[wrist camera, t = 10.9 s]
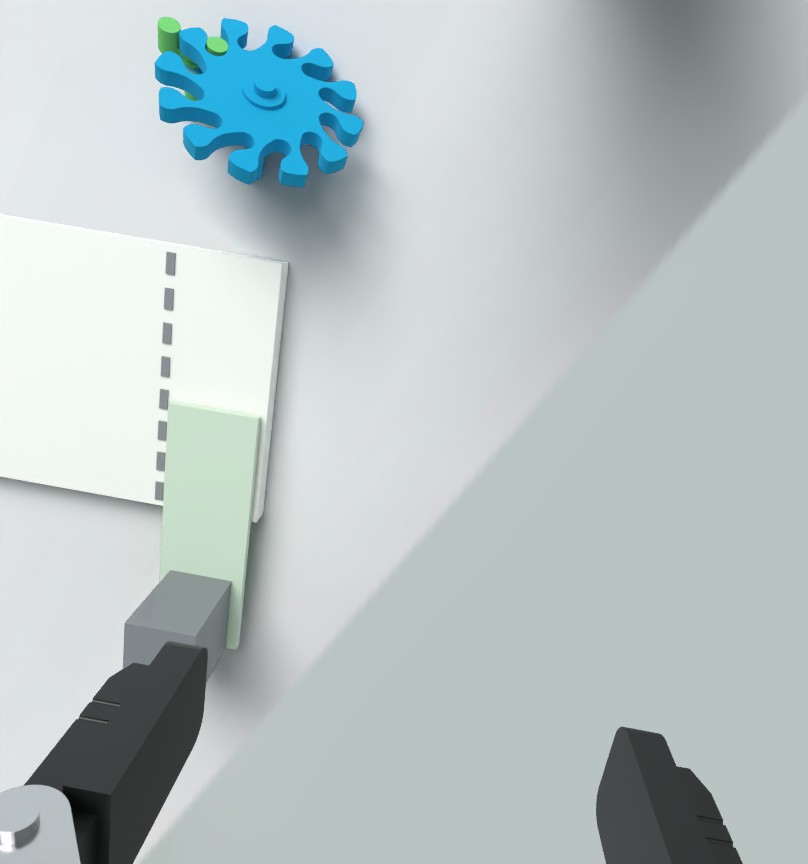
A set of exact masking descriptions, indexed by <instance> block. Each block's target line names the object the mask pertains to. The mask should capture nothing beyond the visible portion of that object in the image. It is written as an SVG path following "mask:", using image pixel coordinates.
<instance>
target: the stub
mask: <svg viewBox="0 0 808 864" xmlns="http://www.w3.org/2000/svg"><path fill="white" fill-rule="evenodd" d="M260 422H261V416H258V415H252V414H246V413H240V412H235V411H229V410H223V409H218V408H212V407H206V406H200V405H195V404H189V403H183V402H178V401H171V402H169V403H168V420H167V439H166V458H165V477H164V497H163V516H162V535H161V554H160V574H159V584H158V585H157V586H156V587H155V589H154V590H153V591H152V592H151V593H150V594H149V595H148V597H147V598H146V599H145V600H144V601H143V602H142V604H141V605H140V606H139V607H138V608H137V609H136V611H135V612H134V613H133V614H132V615H131V616H130V617H129V619H128V620H127V621H126V622H125V628H124V657H123V669H124V668H126V667H127V666H129V665H130V664H132V663H133V662H134V663H139V664H144V665H150V664H151V662H152V661H153V659H154V658H155V657H156V655H157V654H158V653H159V651H160V650H161V648H162V647H163V646H164V644H165V643H166V642H168V641H174V642H179V643H185V644H190V645H195V646H201V647H206V648H207V650H208V663H207V675H206V682H207V680H208V679H209V677H210V675H211V673H212V671H213V670H214V668H215V666H216V664H217V663H218V661H219V659H220V657H221V656H222V654H223V652H224V650H225V648H229V649H235V650H236V649H237V647H238V646H239V641H240V631H241V620H242V610H243V599H244V589H245V579H246V568H247V558H248V547H249V537H250V527H251V516H252V506H253V495H254V485H255V474H256V464H257V454H258V443H259V433H260Z"/></svg>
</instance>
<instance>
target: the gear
mask: <svg viewBox="0 0 808 864" xmlns="http://www.w3.org/2000/svg"><path fill="white" fill-rule="evenodd" d="M180 27H181V26H180V24H179V22H178V21H176V20H175V19H173V18H170V17H163V18H160V19H159V20H158V47H159V50H160V52H161V53H162V55H161V56H160V57H159V58H158V59H157V61H156V62H155V78H156V79H157V80H158V81H159V82H160V83H162V84H164V85H167V86H173V87H176V88H180V89H182V90H184V91H185V96H184V95H182V94H181V93H180V92H179V91H177V90H175V89H173V88H169V87H163V88H161V89H160V91H159V114H160V120H162V121H164V122H167V123H177V122H181V121H196V122H201V123H205V124H208V125H211V126H214V127H216V129H211V128H207V127H204V126H201V125H197V124H190V125H187V126H185V127H184V128H183V143H184V146H185V148H186V150H187V151H188V152H189V154H190V155H191V156H192V157H193V158H194V159H195V160H203V159H206V158H208V157H209V156H210V155H211V153H213V152H214V151H215V150H217V149H219V148H222V147H226V146H234V145H243V146H246V149H242V150H236V151H233V152H232V153H231V154H230V156H229V164H228V173H229V174H230V175H231V176H233V177H234V178H236V179H237V180H239V181H241V182H244V183H246V184H248V185H249V184H252V183H253V182H254V181H255V180H258V179H260V178H261V176H262V172H263V165H264V159H265V157H266V156H267V155H269V154H270V153H272V152H280V153H283V154H284V155H286V157H285V158H284V159H282V161H281V164H280V170H279V175H278V179H279V182H280V183H281V184H283V185H286V186H291V187H304V186H305V183H306V179H307V174H308V166H307V164H306V162H305V161H304V159H303V157H302V156H301V152H300V146H302V145H305V144H308V145H312V146H314V147H315V148H316V149H317V150H318V151H319V159H318V166H319V168H320V170H321V171H322V172H324V173H325V174H330V173H334V172H337V171H339V170H341V169H343V168H344V166H345V162H346V159H347V152H346V150H345V149H344V148H343V147H342V146H340V145H339V144H337V143H336V142H334V141H333V140H332V139H331V138H330V137H329V136H328V135H327V134H326V133H325V132H324V130H323V128H322V126H321V125H325V126H328V127H330V128H332V129H333V130H334V132H335V134H336V136H337V138H338V140H339V141H340V142H341V143H342V144H343V145H345V146H348V147H352V146H353V145H354V144H355V143H356V142H357V140H358V138H359V136H360V133H361V130H362V127H363V124H364V122H363V121H362V120H361V119H360V118H359V117H357V116H354V115H349V114H345V113H342V112H346V113H350V112H352V110H353V107H354V103H355V100H356V88H355V85H354V83H352V82H349V81H339V82H325V81H320V80H328V79H329V78H330V76H331V72H332V68H333V62H332V60H331V58H330V57H329V56H328V54H327V53H326V52H325V51H324V50H323V49H320V48H316V49H313V50H311V51H310V53H309V54H307V55H306V56H304V57H301V58H296V59H282V58H286V57H288V56H290V55H291V53H292V48H293V42H294V36H293V35H292V34H291V33H289V32H288V31H286V30H284V29H283V28H280V27H278V26H276V25H274V26H272V27H270V28H269V31H268V39H267V41H266V43H265V44H264V45H263V46H261V47H260V48H258V49H256V50H254V51H247V50H244V49H243V48H245V47H246V44H247V36H248V26H247V24H246V23H244V22H242V21H238V20H234V19H226V18H224V19H223V20H222V22H221V38H219V37H210V38H208V39H207V34H206V33H205V31H204V30H203V29H201V28H189V29H185V30H182V31H180ZM311 77H312V78H311ZM324 101H327V102H329V103H331V104H332V105H333V106H334V107H336V108H337V109H338V110H340V111H342V112H340V111H338V110H336V109H334V108H332V107H331V106H329V105H328V104H327V103H326V102H324Z"/></svg>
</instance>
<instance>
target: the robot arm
mask: <svg viewBox="0 0 808 864" xmlns="http://www.w3.org/2000/svg"><path fill="white" fill-rule="evenodd" d="M207 663H208V650H207V648H206V647H201V646H195V645H190V644H185V643H179V642H174V641H168V642H166V643H165V644H164V646H163V647H162V648H161V650H160V651H159V653H158V654H157V655H156V657H155V658H154V659H153V661H152V662H151V664H150V665H144V664H139V663H134V662H133V663H132V664H130V665H129V666H127V667H126V668H124V669H122V670H121V671H119V672H118V673H116V674H115V675H113V676H111V677H110V678H109V679H108V680H107V681H106V683H105V684H104V685H103V686H102V688H101V689H100V690H99V691H98V693H97V694H96V695H95V696H94V698H93V701H92V703H91V702H90V703H89V704H88V705H87V707H86V708H85V709H84V710H83V712H82V713H81V714H80V717H79V719H78V720H77V719H76V720H75V722H74V723H73V724H72V725H71V727H70V728H69V729H68V731H67V732H66V733H65V734H64V736H63V737H62V738H61V739H60V741H59V742H58V743H57V744H56V746H55V747H54V748H53V749H52V751H51V752H50V753H49V755H48V756H47V757H46V758H45V760H44V761H43V762H42V763H41V765H40V766H39V767H38V768H37V770H36V771H35V772H34V773H33V775H32V776H31V777H30V779H29V780H28V781H27V782H26V783H25V785H24V786H20V787H16V788H12V789H9V790H6V791H4V792H2V793H0V864H133V862H134V860H135V858H136V856H137V855H138V853H139V851H140V849H141V847H142V845H143V843H144V841H145V839H146V837H147V835H148V833H149V831H150V830H151V828H152V826H153V824H154V822H155V820H156V818H157V816H158V814H159V812H160V810H161V808H162V806H163V805H164V803H165V801H166V799H167V797H168V795H169V793H170V791H171V789H172V787H173V785H174V783H175V781H176V780H177V778H178V776H179V774H180V772H181V770H182V768H183V766H184V764H185V762H186V760H187V758H188V756H189V755H190V753H191V751H192V749H193V747H194V744H195V742H196V740H197V737H198V734H199V731H200V727H201V723H202V718H203V712H204V700H205V688H206V675H207ZM596 816H597V825H598V830H599V834H600V839H601V843H602V847H603V852H604V855H605V860H606V864H743V863H742V861H741V860H740V857H739V854H738V852H737V850H736V848H733V841H732V839H731V837H730V835H729V832H728V830H727V828H726V826H725V825H723V819H722V817H721V814H720V812H719V810H718V808H717V806H716V804H715V801H714V799H713V797H712V794H711V793H710V792H709V791H708V790H707V788H706V787H705V786H704V785H703V784H702V783H701V781H700V780H699V779H698V778H697V777H696V776H695V774H694V773H693V772H692V771H691V770H690V769H688V768H682V767H677V766H676V764H675V762H674V759H673V757H672V755H671V752H670V750H669V747H668V745H667V742H666V740H665V738H664V737H663V736H662V735H661V734H658V733H653V732H647V731H642V730H637V729H631V728H626V727H620V728H619V729H618V730H617V732H616V735H615V738H614V741H613V744H612V747H611V751H610V753H609V757H608V760H607V763H606V766H605V770H604V773H603V776H602V779H601V783H600V786H599V789H598V794H597V803H596Z"/></svg>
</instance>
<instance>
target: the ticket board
mask: <svg viewBox="0 0 808 864" xmlns="http://www.w3.org/2000/svg"><path fill="white" fill-rule="evenodd" d="M288 265H289V262H283V261H277V260H271V259H265V258H259V257H253V256H247V255H241V254H236V253H230V252H224V251H218V250H212V249H206V248H200V247H194V246H188V245H182V244H176V243H170V242H164V241H158V240H152V239H146V238H140V237H134V236H128V235H122V234H116V233H110V232H104V231H98V230H92V229H86V228H80V227H74V226H68V225H62V224H56V223H50V222H45V221H39V220H33V219H27V218H21V217H15V216H9V215H3V214H0V477H6V478H11V479H17V480H23V481H28V482H34V483H39V484H45V485H50V486H56V487H61V488H67V489H72V490H78V491H83V492H89V493H94V494H100V495H106V496H111V497H117V498H122V499H128V500H133V501H139V502H144V503H150V504H155V505H161V506H163V497H164V477H165V458H166V439H167V420H168V403H169V402H171V401H178V402H183V403H189V404H195V405H200V406H206V407H212V408H218V409H223V410H229V411H235V412H240V413H246V414H252V415H258V416H261V422H260V433H259V443H258V454H257V464H256V474H255V485H254V495H253V506H252V516H251V522H255V523H257V521H258V520H259V518H260V517H261V516H262V514H263V511H264V501H265V491H266V481H267V471H268V462H269V452H270V442H271V432H272V422H273V412H274V403H275V393H276V383H277V373H278V363H279V353H280V344H281V334H282V324H283V314H284V304H285V294H286V285H287V275H288Z"/></svg>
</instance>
